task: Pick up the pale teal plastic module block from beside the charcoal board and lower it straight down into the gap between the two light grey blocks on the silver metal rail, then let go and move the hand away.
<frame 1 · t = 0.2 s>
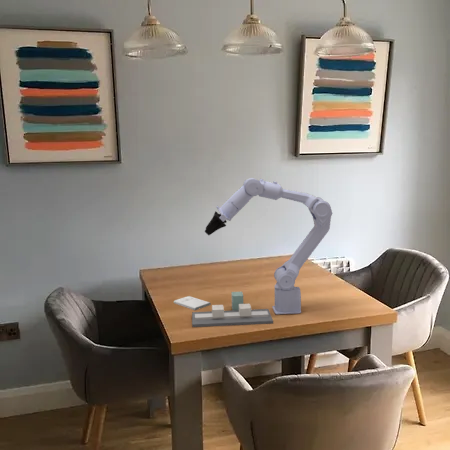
hand: (207, 231, 191), 31 cm above the table, tool tilted 45°, fingers open, 7 cm apart
rail board: (231, 319, 191), on the table
external hard drive: (192, 305, 208), on the table
module: (237, 309, 201), on the table
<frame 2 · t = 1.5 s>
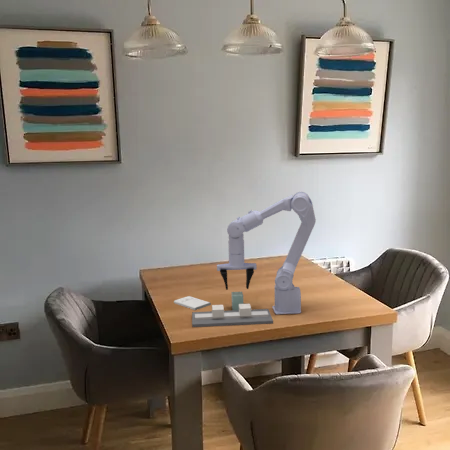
hand: (237, 288, 199), 8 cm above the table, tool pointing down, fingers open, 7 cm apart
nothing on the table moved.
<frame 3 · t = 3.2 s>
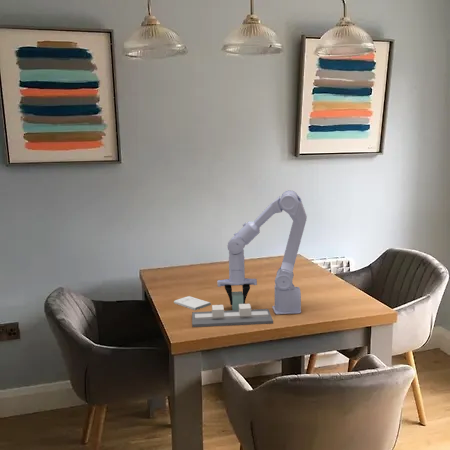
hand: (237, 303, 200), 2 cm above the table, tool pointing down, fingers closed on module, 4 cm apart
module: (237, 309, 201), on the table, touching gripper
everything else where it was.
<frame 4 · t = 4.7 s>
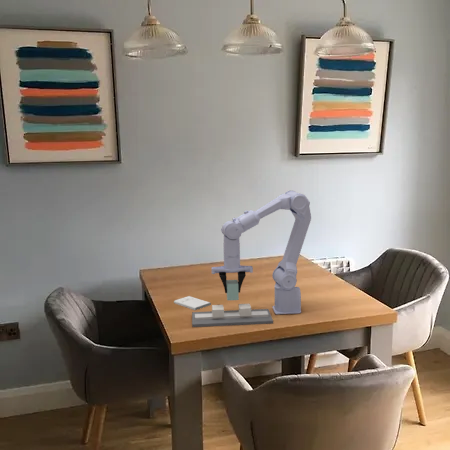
hand: (232, 292, 192), 9 cm above the table, tool pointing down, fingers closed on module, 4 cm apart
module: (232, 298, 193), point 7 cm above the table, touching gripper
everything else where it was.
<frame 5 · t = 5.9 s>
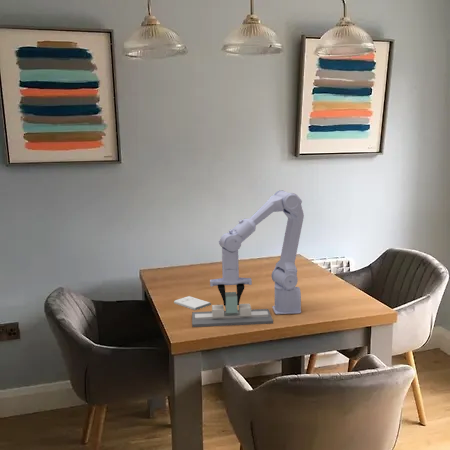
hand: (231, 304, 190), 5 cm above the table, tool pointing down, fingers closed on module, 4 cm apart
module: (231, 310, 191), point 3 cm above the table, touching gripper
everything else where it was.
when the fingers open (5 cm above the table, at t = 6.4 s): module drops 1 cm, resting on rail board.
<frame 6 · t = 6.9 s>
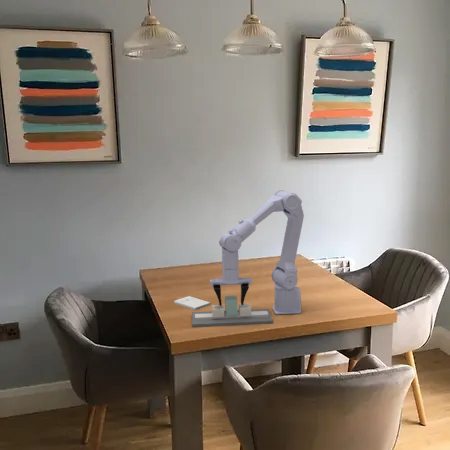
hand: (231, 304, 190), 5 cm above the table, tool pointing down, fingers open, 7 cm apart
module: (231, 313, 191), point 2 cm above the table, touching rail board
everything else where it was.
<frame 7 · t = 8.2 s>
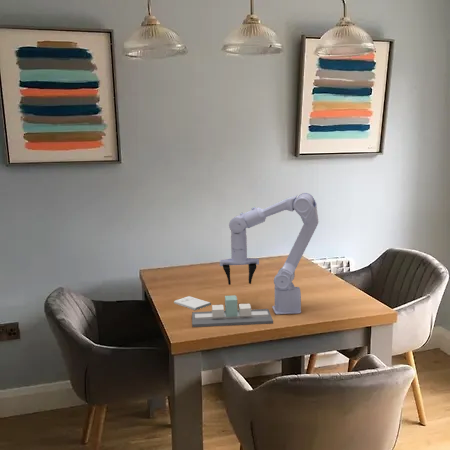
hand: (239, 283, 200), 9 cm above the table, tool pointing down, fingers open, 7 cm apart
nothing on the table moved.
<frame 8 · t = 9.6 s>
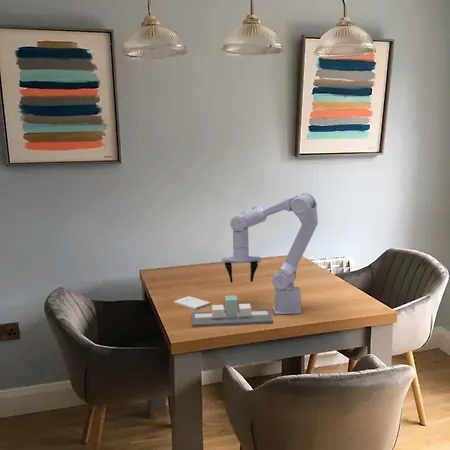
hand: (241, 281, 203), 9 cm above the table, tool pointing down, fingers open, 7 cm apart
nothing on the table moved.
at the end: module 0.3 cm off-centre on the rail board, point 1.8 cm above the rail board's base; module tilted 0°; the gripper is holding nothing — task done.
